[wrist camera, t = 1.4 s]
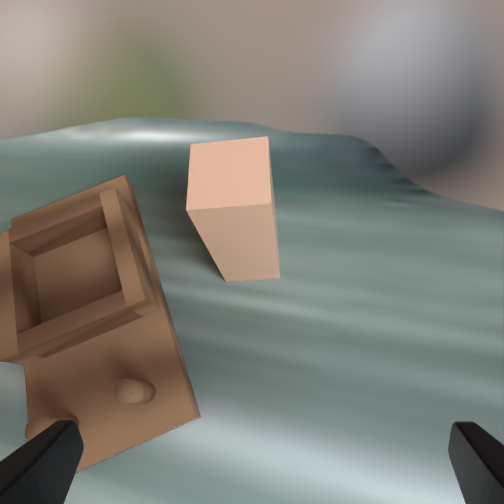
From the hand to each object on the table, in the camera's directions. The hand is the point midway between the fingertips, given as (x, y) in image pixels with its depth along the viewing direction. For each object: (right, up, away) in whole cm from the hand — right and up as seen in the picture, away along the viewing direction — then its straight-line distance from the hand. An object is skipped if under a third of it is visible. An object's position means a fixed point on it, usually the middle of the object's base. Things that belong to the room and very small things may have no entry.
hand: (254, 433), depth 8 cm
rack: (-12, 0, +17) cm, 21 cm away
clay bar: (0, +4, +17) cm, 18 cm away
